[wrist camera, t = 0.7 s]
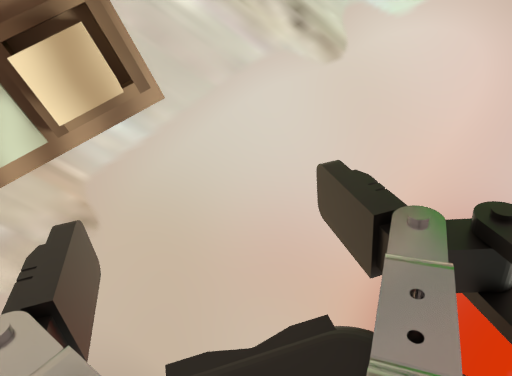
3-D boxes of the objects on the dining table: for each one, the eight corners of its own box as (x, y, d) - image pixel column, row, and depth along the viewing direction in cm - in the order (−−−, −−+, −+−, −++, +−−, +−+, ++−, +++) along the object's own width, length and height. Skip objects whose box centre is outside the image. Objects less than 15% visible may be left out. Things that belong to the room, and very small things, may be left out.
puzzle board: (-43, 208, 31) (-54, 224, 29) (-185, 79, 25) (-215, 86, 22) (162, 95, 34) (169, 102, 32) (83, -45, 28) (83, -51, 25)
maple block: (65, 99, 30) (59, 126, 23) (27, 47, 28) (7, 58, 20) (114, 74, 31) (124, 92, 24) (81, 21, 29) (80, 22, 21)
